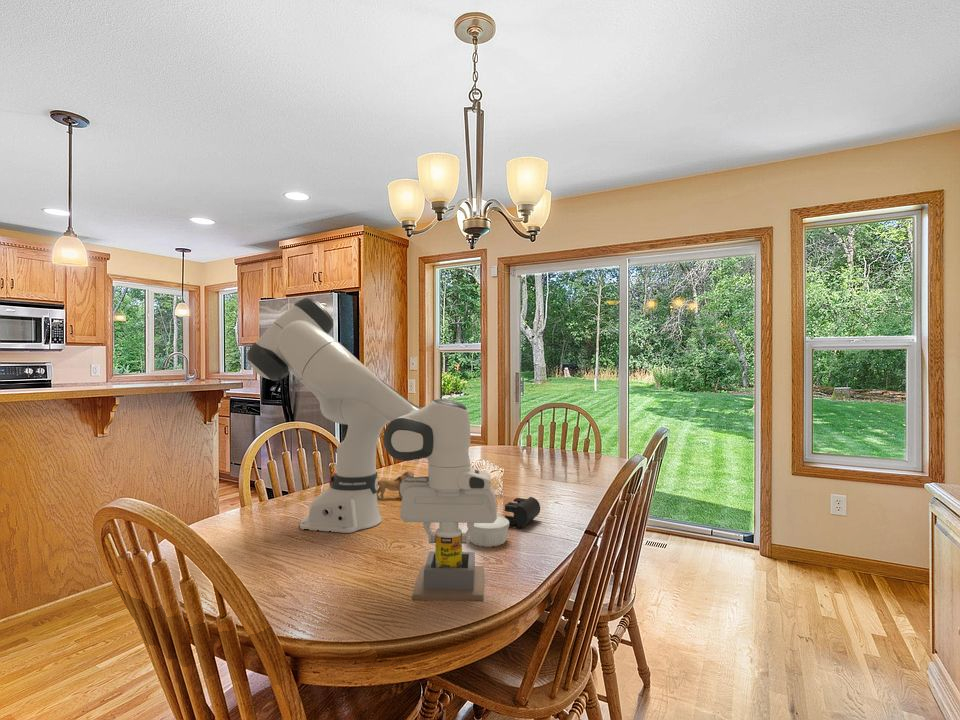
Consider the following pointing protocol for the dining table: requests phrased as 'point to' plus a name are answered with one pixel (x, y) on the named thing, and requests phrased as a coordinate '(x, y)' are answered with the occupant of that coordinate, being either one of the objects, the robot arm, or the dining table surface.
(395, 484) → the lion figurine
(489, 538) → the ramekin
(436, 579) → the socket holder
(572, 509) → the dining table surface
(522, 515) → the end cap
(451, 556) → the supplement bottle
